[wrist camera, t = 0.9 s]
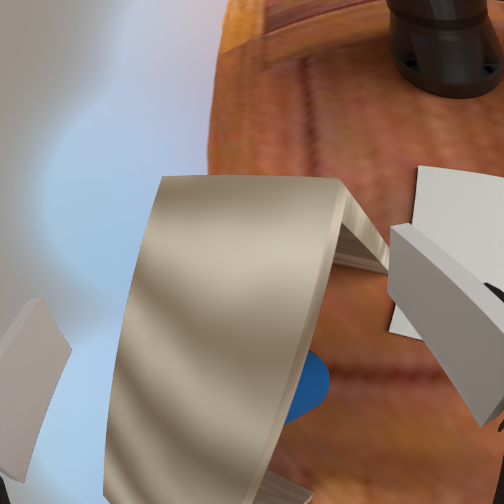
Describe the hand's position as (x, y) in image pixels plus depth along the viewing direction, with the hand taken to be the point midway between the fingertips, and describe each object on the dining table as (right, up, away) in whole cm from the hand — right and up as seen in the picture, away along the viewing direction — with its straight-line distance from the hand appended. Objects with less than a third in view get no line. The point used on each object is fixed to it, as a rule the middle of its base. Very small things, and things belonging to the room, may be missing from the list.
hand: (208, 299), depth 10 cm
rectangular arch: (+6, -11, +18) cm, 22 cm away
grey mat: (+21, +1, +11) cm, 24 cm away
